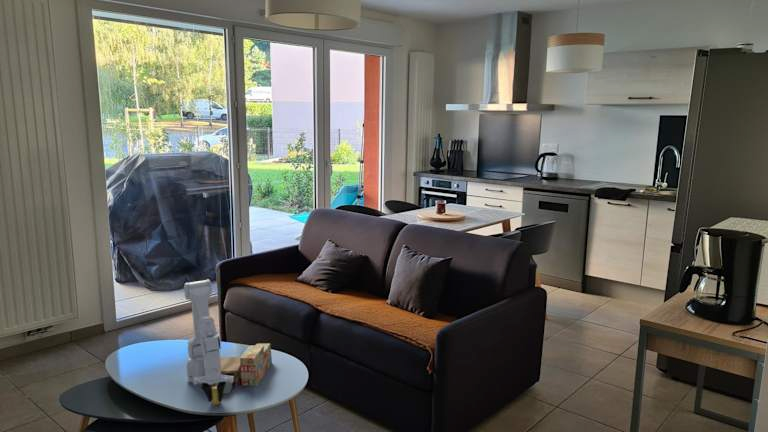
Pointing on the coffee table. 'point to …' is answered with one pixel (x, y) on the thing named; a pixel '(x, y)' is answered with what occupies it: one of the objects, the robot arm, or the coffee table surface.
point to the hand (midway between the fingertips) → (215, 400)
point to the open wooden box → (231, 368)
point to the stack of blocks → (255, 364)
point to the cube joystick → (215, 392)
